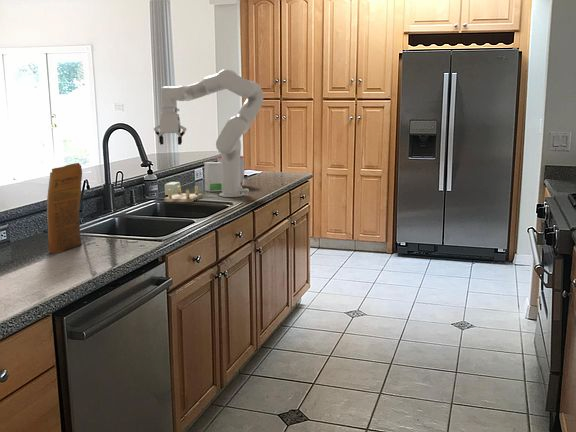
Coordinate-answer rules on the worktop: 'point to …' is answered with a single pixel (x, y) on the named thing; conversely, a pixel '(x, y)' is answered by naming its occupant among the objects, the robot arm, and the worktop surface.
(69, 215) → the pancake mix bag
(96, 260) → the worktop surface
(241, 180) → the citrus juicer
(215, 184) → the skincare box
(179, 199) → the mount plate
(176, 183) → the block
